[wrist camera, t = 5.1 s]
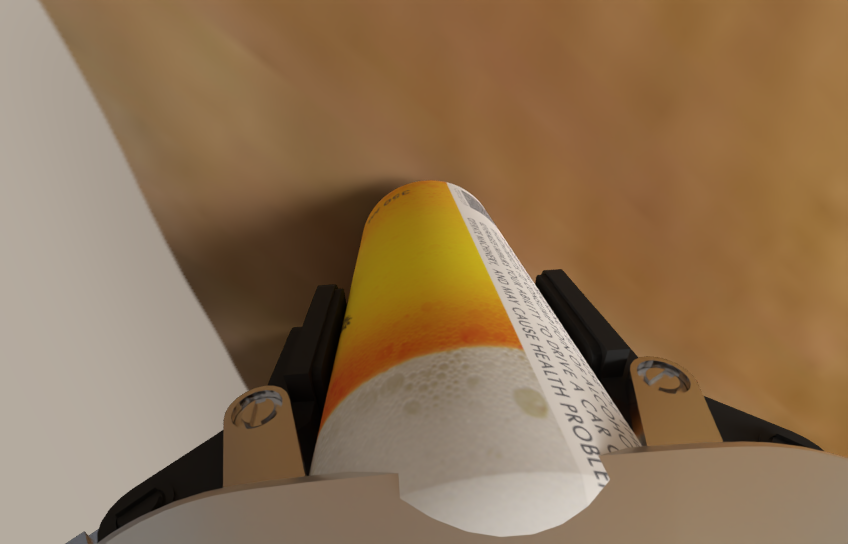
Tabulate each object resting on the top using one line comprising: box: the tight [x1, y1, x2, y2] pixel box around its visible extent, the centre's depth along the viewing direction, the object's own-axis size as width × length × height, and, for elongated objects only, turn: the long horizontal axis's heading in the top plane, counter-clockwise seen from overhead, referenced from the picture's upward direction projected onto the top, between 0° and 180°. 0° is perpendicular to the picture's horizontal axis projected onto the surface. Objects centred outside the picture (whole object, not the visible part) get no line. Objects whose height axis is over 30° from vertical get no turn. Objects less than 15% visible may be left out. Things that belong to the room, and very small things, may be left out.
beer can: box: [309, 180, 642, 537], centre depth 11 cm, size 6×6×15 cm
